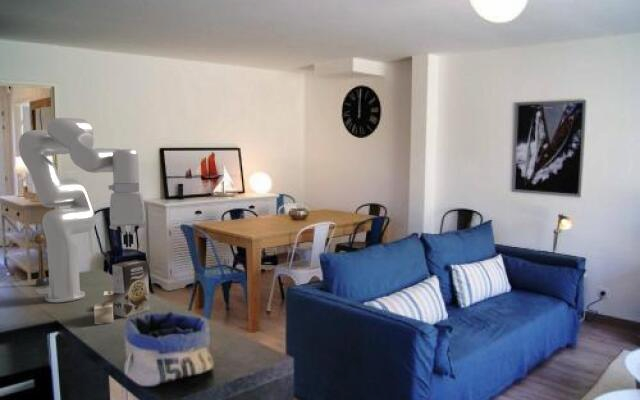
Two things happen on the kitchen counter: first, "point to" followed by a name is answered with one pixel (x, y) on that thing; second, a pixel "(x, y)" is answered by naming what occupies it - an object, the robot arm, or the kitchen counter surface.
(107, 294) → the marked block back
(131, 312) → the coffee box
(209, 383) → the kitchen counter surface
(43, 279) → the wooden tabletop sculpture
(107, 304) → the marked block front
